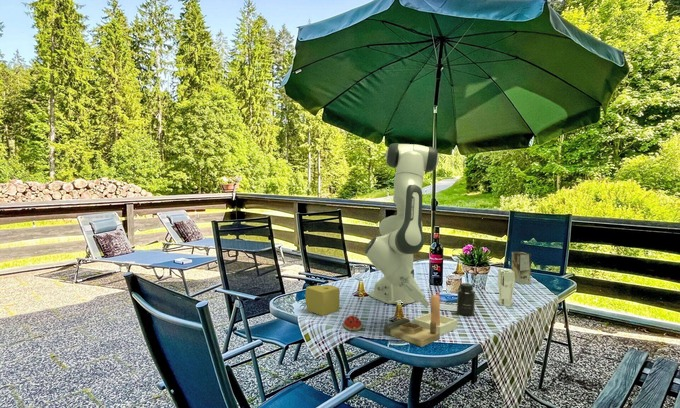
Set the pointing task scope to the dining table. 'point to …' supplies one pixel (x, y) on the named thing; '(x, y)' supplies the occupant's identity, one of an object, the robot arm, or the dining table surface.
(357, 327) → the red domed piece
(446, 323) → the tray
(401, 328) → the bench plate
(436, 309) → the dowel
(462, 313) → the supplement bottle
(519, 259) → the coffee box
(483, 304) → the dining table surface
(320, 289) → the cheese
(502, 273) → the beige tall block
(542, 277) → the dining table surface
